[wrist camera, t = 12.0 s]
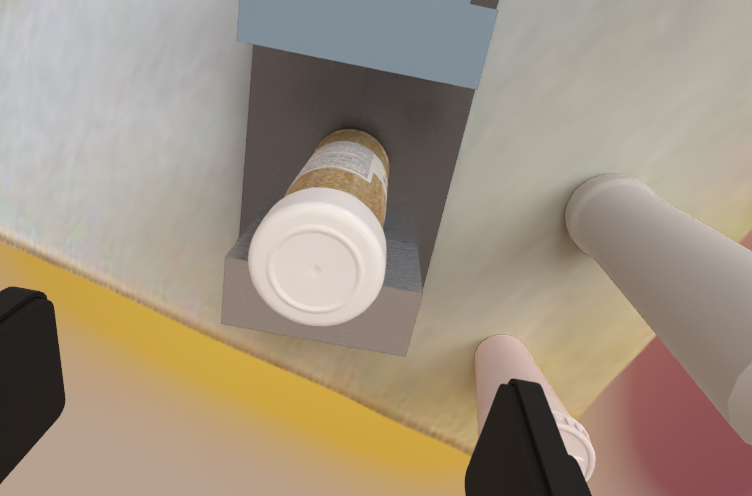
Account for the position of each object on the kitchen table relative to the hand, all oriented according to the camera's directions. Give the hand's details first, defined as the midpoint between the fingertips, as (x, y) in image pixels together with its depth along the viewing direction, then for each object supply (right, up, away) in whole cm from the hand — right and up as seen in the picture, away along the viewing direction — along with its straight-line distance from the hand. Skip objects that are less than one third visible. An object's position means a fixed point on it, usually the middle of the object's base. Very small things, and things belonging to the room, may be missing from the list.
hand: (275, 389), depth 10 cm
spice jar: (+1, +8, +18) cm, 19 cm away
